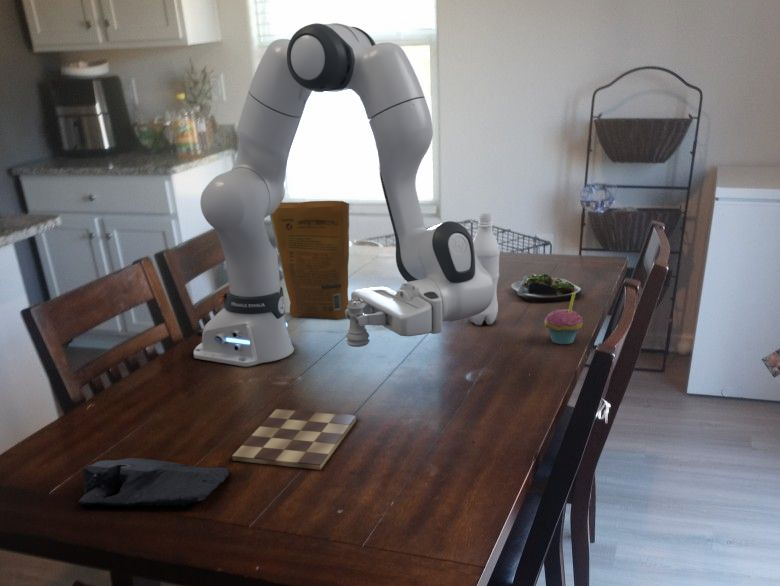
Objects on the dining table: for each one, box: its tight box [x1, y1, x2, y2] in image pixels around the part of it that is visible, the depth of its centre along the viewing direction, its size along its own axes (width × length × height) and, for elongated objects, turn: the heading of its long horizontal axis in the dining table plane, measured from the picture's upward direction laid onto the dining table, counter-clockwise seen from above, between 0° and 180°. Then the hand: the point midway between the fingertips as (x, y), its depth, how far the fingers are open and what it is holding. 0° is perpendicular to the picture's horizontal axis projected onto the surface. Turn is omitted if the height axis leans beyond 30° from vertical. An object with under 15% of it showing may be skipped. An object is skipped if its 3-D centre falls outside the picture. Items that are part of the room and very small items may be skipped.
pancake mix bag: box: [269, 200, 350, 320], centre depth 204 cm, size 7×19×28 cm, turn 75°
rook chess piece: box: [345, 298, 370, 348], centre depth 154 cm, size 4×4×8 cm
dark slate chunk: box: [78, 457, 230, 508], centre depth 135 cm, size 15×22×5 cm
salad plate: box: [511, 273, 582, 304], centre depth 222 cm, size 19×18×5 cm
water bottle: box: [468, 212, 501, 326], centre depth 197 cm, size 7×7×25 cm
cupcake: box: [544, 289, 585, 345], centre depth 187 cm, size 9×8×12 cm
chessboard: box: [231, 408, 357, 471], centre depth 150 cm, size 16×20×1 cm
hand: (352, 317), depth 153 cm, fingers closed on rook chess piece, 3 cm apart
